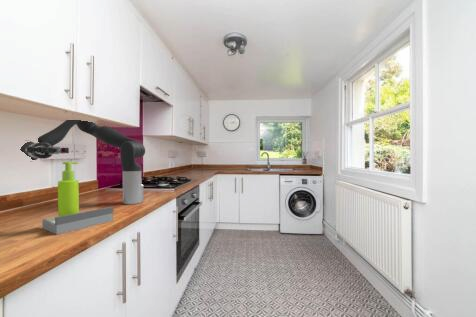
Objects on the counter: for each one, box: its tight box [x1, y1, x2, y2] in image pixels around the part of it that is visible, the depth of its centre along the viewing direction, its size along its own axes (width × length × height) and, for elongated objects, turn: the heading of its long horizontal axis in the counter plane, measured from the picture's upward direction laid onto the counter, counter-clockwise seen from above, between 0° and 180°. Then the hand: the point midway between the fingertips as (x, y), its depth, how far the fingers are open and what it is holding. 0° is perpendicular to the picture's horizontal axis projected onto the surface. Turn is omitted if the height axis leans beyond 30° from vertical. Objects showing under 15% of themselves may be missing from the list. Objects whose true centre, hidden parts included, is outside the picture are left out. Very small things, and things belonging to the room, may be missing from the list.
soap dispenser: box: [57, 161, 80, 217], centre depth 80 cm, size 6×7×20 cm
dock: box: [41, 206, 114, 236], centre depth 82 cm, size 18×12×5 cm, turn 148°
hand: (54, 149), depth 96 cm, fingers open, 8 cm apart
